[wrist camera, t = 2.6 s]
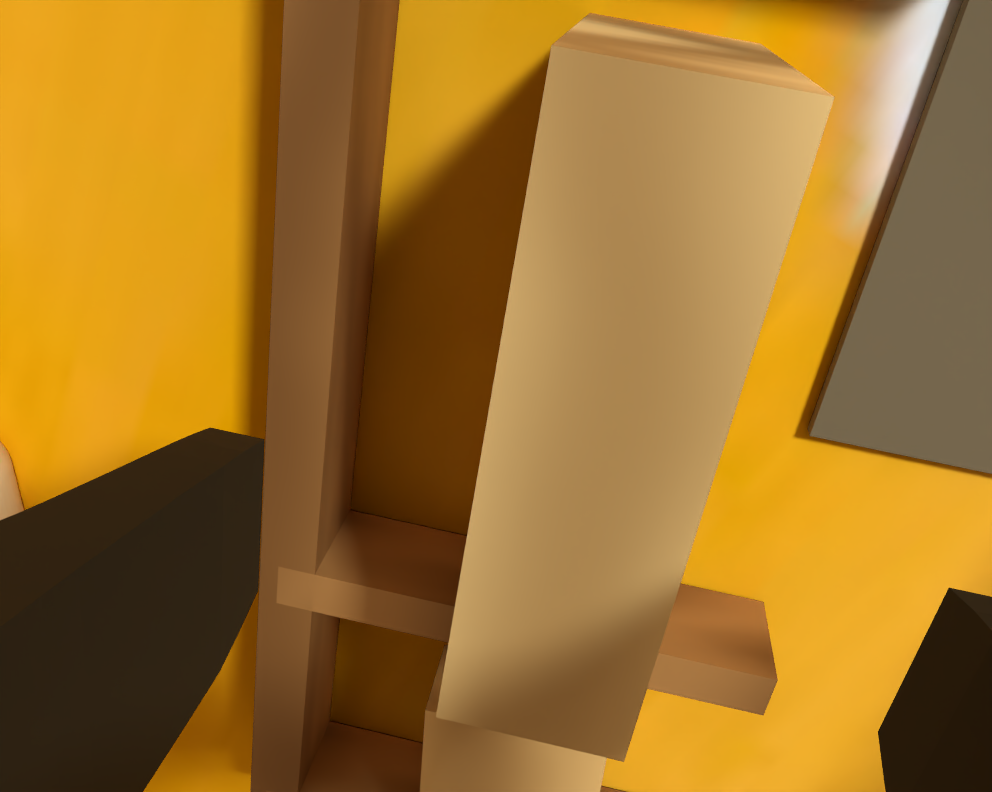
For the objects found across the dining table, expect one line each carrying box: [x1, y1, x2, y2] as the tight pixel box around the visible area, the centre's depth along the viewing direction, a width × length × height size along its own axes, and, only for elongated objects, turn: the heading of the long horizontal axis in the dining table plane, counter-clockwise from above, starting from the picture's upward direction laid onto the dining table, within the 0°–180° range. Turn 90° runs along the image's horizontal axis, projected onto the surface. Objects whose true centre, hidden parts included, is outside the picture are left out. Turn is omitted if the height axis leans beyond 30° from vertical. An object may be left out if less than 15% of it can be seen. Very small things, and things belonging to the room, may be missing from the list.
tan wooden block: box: [436, 13, 834, 762], centre depth 15 cm, size 3×10×7 cm, turn 171°
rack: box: [251, 0, 777, 792], centre depth 18 cm, size 11×23×2 cm, turn 171°
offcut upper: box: [420, 645, 607, 792], centre depth 20 cm, size 4×4×2 cm
